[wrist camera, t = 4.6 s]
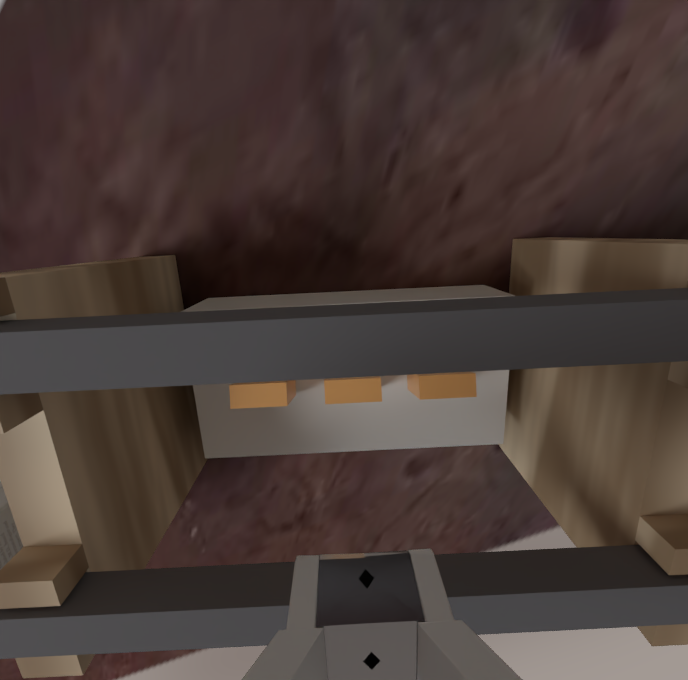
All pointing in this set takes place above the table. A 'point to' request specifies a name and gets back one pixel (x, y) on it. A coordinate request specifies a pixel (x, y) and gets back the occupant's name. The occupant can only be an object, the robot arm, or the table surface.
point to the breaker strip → (351, 418)
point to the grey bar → (275, 591)
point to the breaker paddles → (353, 389)
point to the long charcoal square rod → (343, 341)
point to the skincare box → (7, 532)
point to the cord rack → (188, 458)
